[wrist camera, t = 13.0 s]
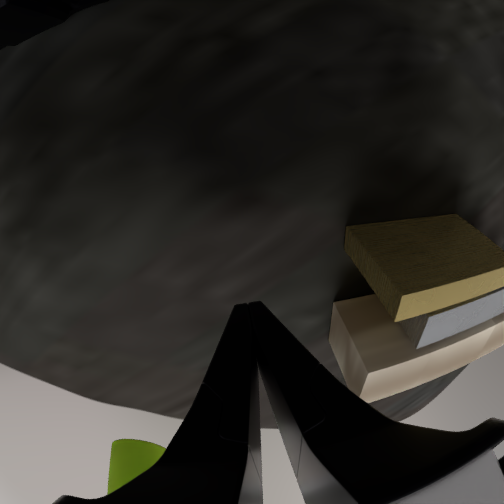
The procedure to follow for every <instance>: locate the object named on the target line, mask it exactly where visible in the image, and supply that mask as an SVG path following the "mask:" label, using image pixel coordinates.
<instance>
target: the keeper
mask: <svg viewBox="0 0 504 504" xmlns="http://www.w3.org/2000/svg"><path fill="white" fill-rule="evenodd" d="M344 250H345V251H346V253H347V254H348V255H349V257H350V258H351V260H352V261H353V262H354V264H355V265H356V266H357V268H358V269H359V271H360V272H361V274H362V275H363V276H364V278H365V279H366V281H367V282H368V284H369V285H370V286H371V288H372V289H373V291H374V292H375V294H376V295H377V297H378V298H379V300H380V301H381V303H382V304H383V306H384V307H385V309H386V310H387V312H388V313H389V315H390V316H391V318H392V319H393V321H394V322H398V321H401V320H405V319H408V318H412V317H415V316H419V315H422V314H425V313H429V312H432V311H435V310H438V309H442V308H445V307H448V306H451V305H454V304H457V303H460V302H463V301H466V300H469V299H471V298H474V297H477V296H480V295H482V294H485V293H488V292H491V291H493V290H496V289H498V288H501V287H503V286H504V251H503V250H502V249H501V248H500V247H499V246H497V245H496V244H495V243H494V242H492V241H491V240H490V239H489V238H487V237H486V236H485V235H484V234H482V233H481V232H480V231H479V230H477V229H476V228H475V227H473V226H472V225H471V224H469V223H468V222H467V221H465V220H464V219H463V218H461V217H460V216H458V215H457V214H449V215H440V216H431V217H422V218H413V219H404V220H395V221H386V222H378V223H369V224H361V225H353V226H346V233H345V245H344Z"/></svg>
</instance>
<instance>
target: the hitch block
mask: <svg viewBox="0 0 504 504" xmlns="http://www.w3.org/2000/svg"><path fill="white" fill-rule="evenodd" d="M329 343H330V345H331V347H332V350H333V352H334V355H335V357H336V359H337V362H338V364H339V367H340V369H341V372H342V374H343V377H344V379H345V381H346V384H347V386H348V389H349V390H351V391H352V392H353V393H355V394H356V395H357V396H359V397H360V398H361V399H363V400H364V401H365V402H367V403H370V402H373V401H376V400H379V399H382V398H385V397H388V396H391V395H394V394H397V393H400V392H402V391H405V390H408V389H410V388H413V387H416V386H418V385H421V384H423V383H426V382H428V381H431V380H433V379H435V378H438V377H440V376H442V375H445V374H447V373H449V372H451V371H454V370H456V369H458V368H460V367H462V366H464V365H466V364H468V363H470V362H472V361H474V360H476V359H478V358H480V357H482V356H484V355H486V354H488V353H490V352H491V351H493V350H495V349H497V348H499V347H500V346H502V345H504V312H503V313H501V314H499V315H497V316H495V317H493V318H491V319H489V320H487V321H484V322H482V323H480V324H478V325H476V326H473V327H471V328H469V329H467V330H464V331H462V332H459V333H457V334H455V335H452V336H450V337H447V338H445V339H442V340H440V341H437V342H434V343H432V344H429V345H426V346H424V347H421V348H418V349H416V348H415V346H414V345H413V343H412V342H411V340H410V338H409V337H408V335H407V334H406V332H405V331H404V329H403V328H402V326H401V325H400V323H399V322H394V321H393V319H392V318H391V316H390V315H389V313H388V312H387V310H386V309H385V307H384V306H383V304H382V303H381V301H380V300H379V298H378V297H377V295H376V294H372V295H367V296H363V297H358V298H353V299H348V300H343V301H337V302H333V310H332V318H331V325H330V333H329Z"/></svg>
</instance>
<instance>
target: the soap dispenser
mask: <svg viewBox="0 0 504 504" xmlns="http://www.w3.org/2000/svg"><path fill="white" fill-rule="evenodd" d="M165 450H166V448H164V447H162V446H160V445H157V444H154V443H151V442H147V441H142V440H135V439H119V440H116V441H114V442H113V443H112V448H111V458H110V468H109V481H108V494H110V493H112V492H113V491H115V490H116V489H118V488H120V487H121V486H123V485H124V484H126V483H128V482H129V481H131V480H132V479H134V478H135V477H137V476H138V475H140V474H141V473H143V472H144V471H146V470H147V469H149V468H150V467H151V466H153V465H154V464H155V463H156V462H157V461H158V460H159V458H160V457H161V456H162V454H163V453H164V451H165ZM108 494H107V495H108Z"/></svg>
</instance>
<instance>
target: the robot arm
mask: <svg viewBox="0 0 504 504" xmlns="http://www.w3.org/2000/svg"><path fill="white" fill-rule="evenodd" d="M105 1H109V0H0V50H1V49H2V48H4V47H6V46H7V45H10V46H15V45H18V44H19V43H21V42H23V41H25V40H27V39H29V38H31V37H33V36H35V35H37V34H39V33H41V32H43V31H45V30H47V29H49V28H51V27H54V26H56V25H58V24H60V23H63V22H64V21H65V20H66V19H67V18H68V17H69V16H70V14H72V13H75V12H77V11H80V10H83V9H85V8H88V7H91V6H94V5H96V4H99V3H102V2H105ZM256 357H257V358H256ZM257 362H258V365H257ZM258 367H259V371H260V374H261V377H262V380H263V383H264V386H265V389H266V392H267V395H268V398H269V401H270V404H271V407H272V410H273V413H274V416H275V419H276V422H277V425H278V428H279V431H280V433H281V436H282V439H283V442H284V445H285V447H286V450H287V453H288V456H289V459H290V462H291V465H292V467H293V470H294V473H295V476H296V478H297V482H298V484H299V487H300V490H301V492H302V495H303V498H304V501H305V503H306V504H504V456H503V457H501V458H500V459H499V460H498V459H497V457H496V455H495V453H494V451H493V448H494V447H496V446H497V445H498V444H499V443H501V442H502V441H503V440H504V420H500V419H496V418H490V419H488V420H486V421H484V422H483V423H481V424H479V425H478V426H476V427H475V428H473V429H471V430H467V431H461V432H451V431H444V430H437V429H431V428H425V427H419V426H414V425H409V424H404V423H400V422H397V421H394V420H392V419H390V418H388V417H386V416H385V415H383V414H382V413H380V412H379V411H378V410H376V409H375V408H373V407H372V406H371V405H369V404H368V403H367V402H365V401H364V400H363V399H361V398H360V397H359V396H357V395H356V394H355V393H353V392H352V391H351V390H349V389H348V388H347V387H346V386H345V385H343V384H342V383H341V382H340V381H339V380H337V379H336V378H335V377H334V376H333V375H332V374H331V373H330V372H329V371H328V370H327V369H326V368H325V367H324V366H323V365H322V364H320V362H319V361H318V360H317V359H316V358H315V357H314V356H313V355H312V354H311V353H310V352H309V351H308V350H307V349H306V348H305V347H304V346H303V345H302V344H301V343H300V342H299V341H298V339H297V338H296V337H295V336H294V335H293V334H292V333H291V332H290V331H289V330H288V329H287V328H286V327H285V326H284V325H283V324H282V323H281V322H280V321H279V320H278V319H277V318H276V317H275V315H274V314H273V313H272V312H271V311H270V310H269V309H268V308H267V307H266V306H265V305H264V304H263V303H262V302H261V301H256V302H250V303H248V304H247V303H243V304H236V305H235V306H234V308H233V310H232V312H231V315H230V317H229V320H228V322H227V324H226V327H225V329H224V332H223V334H222V336H221V339H220V341H219V344H218V346H217V348H216V351H215V353H214V356H213V358H212V360H211V363H210V365H209V367H208V370H207V372H206V375H205V377H204V379H203V383H202V384H201V386H200V389H199V391H198V393H197V396H196V398H195V400H194V402H193V404H192V406H191V408H190V410H189V412H188V413H187V415H186V417H185V419H184V421H183V422H182V424H181V426H180V427H179V429H178V431H177V432H176V434H175V435H174V437H173V439H172V440H171V442H170V444H169V445H168V447H167V449H166V450H165V451H164V453H163V454H162V456H161V457H160V458H159V460H158V461H157V462H156V463H155V464H154V465H153V466H151V467H150V468H149V469H147V470H146V471H144V472H143V473H141V474H140V475H138V476H137V477H135V478H134V479H132V480H131V481H129V482H128V483H126V484H124V485H123V486H121V487H120V488H118V489H116V490H115V491H113V492H112V493H110V494H108V495H106V496H104V497H100V498H97V499H83V498H79V497H74V496H69V495H63V496H61V497H60V498H58V499H57V500H56V501H55V502H54V503H53V504H263V491H262V463H261V462H262V461H261V433H260V406H259V379H258Z"/></svg>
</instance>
